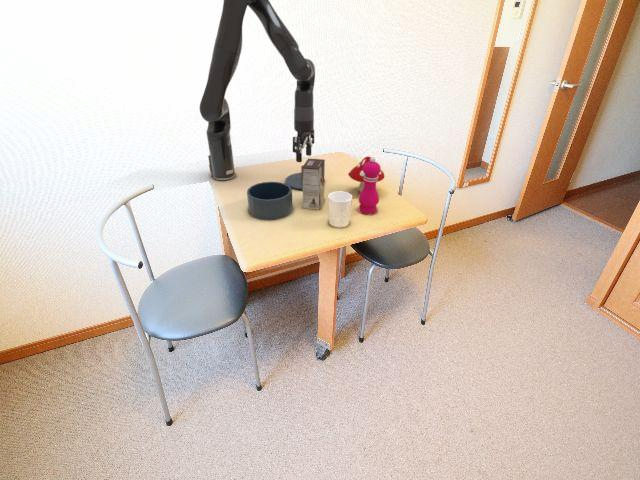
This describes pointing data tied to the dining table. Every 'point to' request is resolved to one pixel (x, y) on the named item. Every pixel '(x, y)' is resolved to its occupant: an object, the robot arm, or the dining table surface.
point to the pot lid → (295, 180)
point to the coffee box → (313, 183)
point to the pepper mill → (369, 188)
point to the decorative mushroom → (362, 173)
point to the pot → (269, 200)
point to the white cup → (339, 208)
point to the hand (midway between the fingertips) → (303, 158)
